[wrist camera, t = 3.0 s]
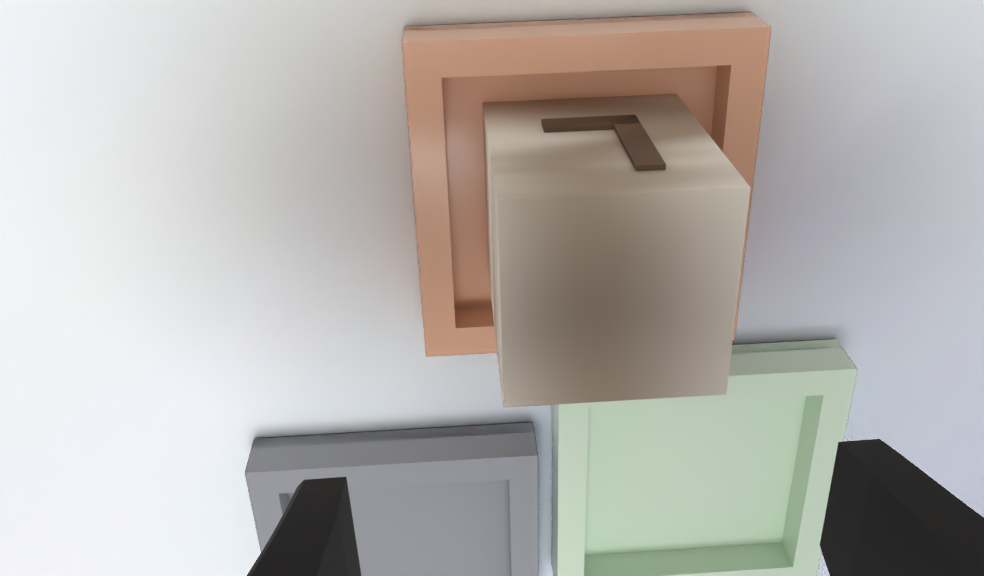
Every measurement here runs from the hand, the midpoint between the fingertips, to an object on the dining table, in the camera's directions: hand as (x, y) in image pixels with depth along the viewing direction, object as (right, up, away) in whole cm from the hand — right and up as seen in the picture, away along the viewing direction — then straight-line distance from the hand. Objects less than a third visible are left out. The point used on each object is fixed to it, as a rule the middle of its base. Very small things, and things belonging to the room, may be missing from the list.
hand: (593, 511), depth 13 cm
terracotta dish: (0, +6, +7) cm, 9 cm away
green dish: (+4, -1, +11) cm, 11 cm away
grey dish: (-4, -3, +11) cm, 12 cm away
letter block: (0, +5, +6) cm, 8 cm away
